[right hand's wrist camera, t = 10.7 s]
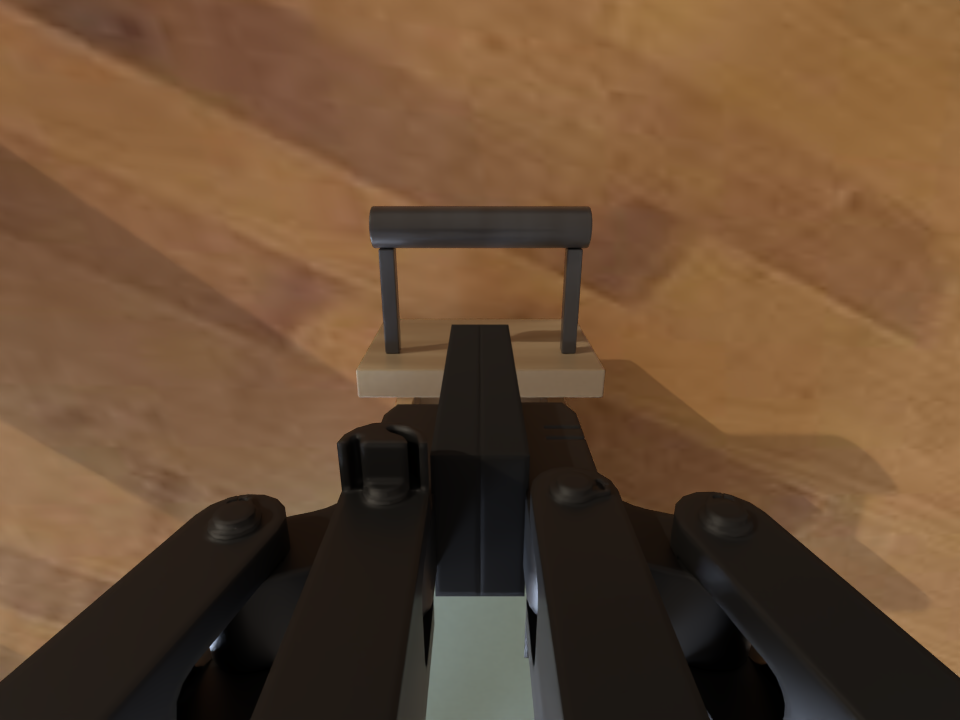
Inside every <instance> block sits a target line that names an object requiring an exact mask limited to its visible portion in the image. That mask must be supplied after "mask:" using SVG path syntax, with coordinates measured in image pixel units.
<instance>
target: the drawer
mask: <svg viewBox="0 0 960 720" xmlns="http://www.w3.org/2000/svg"><path fill="white" fill-rule="evenodd" d="M369 231H370V239H371V243H372V246H373V247H374V248H380V249H379V264H380V279H381V295H382V310H383V324H382V325H381V327H380V329H379V331H378V333H377V334H376V336H375V338H374V340H373V341H372V343H371V345H370V347H369V348H368V350H367V352H366V354H365V355H364V357H363V359H362V361H361V362H360V364H359V366H358V368H357V369H356V376H357V387H358V396H359V397H398V398H397V401H396V404H395V406H396V405H398V404H439V398H440V392H441V386H442V380H443V374H444V368H445V361H446V355H447V349H448V343H449V337H450V331H451V325H452V324H508V325H509V331H510V337H511V343H512V349H513V355H514V361H515V368H516V374H517V380H518V386H519V392H520V398H521V402H562V403H564V404H565V401H564V398H563V397H603V390H604V379H605V369H604V367H603V365H602V364H601V362H600V360H599V359H598V357H597V355H596V353H595V352H594V350H593V348H592V347H591V345H590V343H589V341H588V340H587V338H586V336H585V335H584V333H583V331H582V329H581V328H580V326H579V324H578V313H579V298H580V283H581V269H582V254H583V250H582V249H581V248H587V247H588V246H589V244H590V241H591V235H592V212H591V209H590V207H588V206H373V207H371V210H370V215H369ZM396 248H566V249H565V266H564V284H563V301H562V319H400V317H399V298H398V280H397V262H396ZM565 405H566V404H565Z"/></svg>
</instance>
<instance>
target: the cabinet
mask: <svg viewBox="0 0 960 720" xmlns="http://www.w3.org/2000/svg"><path fill="white" fill-rule="evenodd" d="M434 620H435V624H434V635H433V645H432V656H431V667H430V678H429V688H428V699H427V710H426V720H534V709H533V698H532V688H531V677H530V666H529V658H524V645H525V620H526V587H525V596H435V590H434Z"/></svg>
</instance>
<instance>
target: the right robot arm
mask: <svg viewBox="0 0 960 720" xmlns="http://www.w3.org/2000/svg"><path fill="white" fill-rule="evenodd" d="M337 449H338V458H339V467H340V476H341V485H342V493H341V495H340V498H339V500H338V503H337V504H334V505H332V506H330V507H327V508H324V509H321V510H317V511H314V512H309V513H304V514H299V515H294V516H289V517H286V512H285V507H284V506H283V505H282V504H281V502H280V501H279V500H278V499H275V498H272V497H269V496H266V495H253V494H247V495H239V496H234V497H230V498H227V499H225V500H222V501H220V502H217V503H215V504H212V505H210V506H208V507H207V508H205V509H204V510H202V511H201V512H199V513H198V514H196V515H195V516H194V517H193V518H191V519H190V520H189V521H188V522H187V523H186V524H184V525H183V526H182V527H181V528H180V529H179V530H177V531H176V532H175V533H174V534H173V535H172V536H170V537H169V538H168V539H167V540H166V541H165V542H163V543H162V544H161V545H160V546H159V547H158V548H156V549H155V550H154V551H153V552H152V553H151V554H149V555H148V556H147V557H146V558H145V559H143V560H142V561H141V562H140V563H139V564H138V565H136V566H135V567H134V568H133V569H132V570H131V571H129V572H128V573H127V574H126V575H125V576H124V577H122V578H121V579H120V580H119V581H118V582H117V583H115V584H114V585H113V586H112V587H111V588H110V589H108V590H107V591H106V592H105V593H104V594H103V595H101V596H100V597H99V598H98V599H97V600H96V601H94V602H93V603H92V604H91V605H90V606H89V607H87V608H86V609H85V610H84V611H83V612H82V613H80V614H79V615H78V616H77V617H76V618H75V619H73V620H72V621H71V622H70V623H69V624H68V625H66V626H65V627H64V628H63V629H62V630H61V631H59V632H58V633H57V634H56V635H55V636H54V637H52V638H51V639H50V640H49V641H48V642H47V643H45V644H44V645H43V646H42V647H41V648H40V649H38V650H37V651H36V652H35V653H34V654H33V655H31V656H30V657H29V658H28V659H27V660H26V661H24V662H23V663H22V664H21V665H20V666H19V667H17V668H16V669H15V670H14V671H13V672H12V673H10V674H9V675H8V676H7V677H6V678H5V679H3V680H2V681H1V682H0V720H426V710H427V699H428V688H429V678H430V667H431V656H432V645H433V635H434V624H435V620H434V590H435V596H525V587H526V620H525V645H524V658H529V666H530V677H531V688H532V698H533V709H534V720H960V677H958V676H957V675H956V674H955V673H954V672H953V671H951V670H950V669H949V668H948V667H947V666H945V665H944V664H943V663H942V662H941V661H940V660H938V659H937V658H936V657H935V656H934V655H932V654H931V653H930V652H929V651H928V650H927V649H925V648H924V647H923V646H922V645H921V644H920V643H918V642H917V641H916V640H915V639H914V638H912V637H911V636H910V635H909V634H908V633H907V632H905V631H904V630H903V629H902V628H901V627H899V626H898V625H897V624H896V623H895V622H894V621H892V620H891V619H890V618H889V617H888V616H887V615H885V614H884V613H883V612H882V611H881V610H879V609H878V608H877V607H876V606H875V605H874V604H872V603H871V602H870V601H869V600H868V599H867V598H865V597H864V596H863V595H862V594H861V593H859V592H858V591H857V590H856V589H855V588H854V587H852V586H851V585H850V584H849V583H848V582H846V581H845V580H844V579H843V578H842V577H841V576H839V575H838V574H837V573H836V572H835V571H834V570H832V569H831V568H830V567H829V566H828V565H826V564H825V563H824V562H823V561H822V560H821V559H819V558H818V557H817V556H816V555H815V554H814V553H812V552H811V551H810V550H809V549H808V548H806V547H805V546H804V545H803V544H802V543H801V542H799V541H798V540H797V539H796V538H795V537H793V536H792V535H791V534H790V533H789V532H788V531H786V530H785V529H784V528H783V527H782V526H781V525H779V524H778V523H777V522H776V521H775V520H773V519H772V518H771V517H770V516H769V515H768V514H766V513H765V512H764V511H762V510H761V509H759V508H758V507H756V506H754V505H753V504H751V503H750V502H747V501H745V500H742V499H740V498H737V497H735V496H732V495H728V494H724V493H723V494H722V493H717V492H696V493H693V494H690V495H686V496H683V497H682V498H681V499H680V500H679V501H678V502H677V504H676V505H675V512H674V515H673V514H668V513H663V512H658V511H653V510H648V509H644V508H641V507H637V506H633V505H631V504H629V503H627V502H624V501H622V499H621V497H620V494H619V492H618V490H617V488H616V487H615V486H614V484H613V483H612V482H611V481H610V480H609V479H607V478H606V477H604V476H602V475H601V474H599V473H598V472H597V470H596V467H595V464H594V462H593V459H592V456H591V453H590V451H589V448H588V445H587V442H586V440H585V439H584V434H583V431H582V429H581V426H580V423H579V421H578V418H577V415H576V413H575V412H574V411H572V410H571V409H570V408H569V407H567V406H566V405H565V404H564V403H562V402H521V398H520V392H519V386H518V380H517V374H516V368H515V361H514V355H513V349H512V343H511V337H510V331H509V325H508V324H452V325H451V331H450V337H449V343H448V349H447V355H446V361H445V368H444V374H443V380H442V386H441V392H440V398H439V404H398V405H396V406H395V407H394V408H393V409H391V410H390V411H389V412H388V413H386V414H385V415H384V417H383V420H382V423H373V424H369V425H365V426H362V427H358V428H356V429H354V430H352V431H350V432H348V433H347V434H345V435H344V436H343V437H342V438H341V439H340V440H339V441H338V443H337Z"/></svg>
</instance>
